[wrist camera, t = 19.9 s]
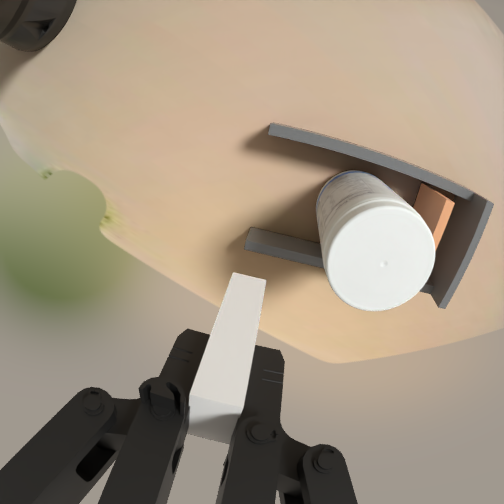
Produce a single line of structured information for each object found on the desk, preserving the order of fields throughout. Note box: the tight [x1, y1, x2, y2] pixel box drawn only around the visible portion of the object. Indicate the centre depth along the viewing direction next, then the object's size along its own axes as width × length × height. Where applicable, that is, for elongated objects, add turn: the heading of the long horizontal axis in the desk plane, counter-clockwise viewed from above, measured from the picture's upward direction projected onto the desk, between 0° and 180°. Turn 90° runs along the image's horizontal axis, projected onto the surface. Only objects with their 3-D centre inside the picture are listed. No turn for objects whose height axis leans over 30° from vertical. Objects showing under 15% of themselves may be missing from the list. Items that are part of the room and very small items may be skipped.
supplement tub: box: [316, 170, 435, 311], centre depth 27 cm, size 10×10×15 cm
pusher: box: [413, 183, 455, 251], centre depth 30 cm, size 4×11×7 cm, turn 169°
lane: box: [244, 123, 494, 309], centre depth 31 cm, size 26×14×7 cm, turn 79°
